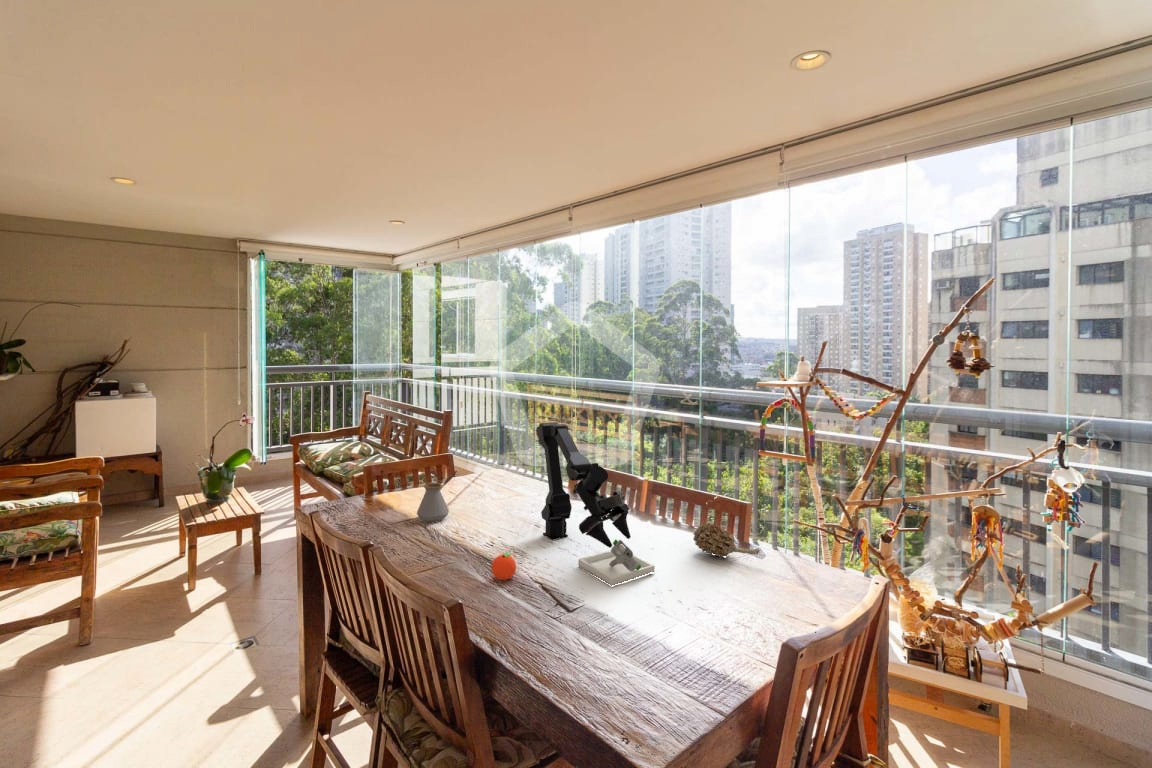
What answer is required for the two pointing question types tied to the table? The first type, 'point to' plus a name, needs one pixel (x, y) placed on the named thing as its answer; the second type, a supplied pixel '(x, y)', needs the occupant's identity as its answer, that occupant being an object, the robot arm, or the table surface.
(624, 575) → the parts tray
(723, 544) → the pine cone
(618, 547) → the mechanical component
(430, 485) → the coffee pot
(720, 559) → the table surface
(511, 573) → the clementine
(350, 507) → the table surface
